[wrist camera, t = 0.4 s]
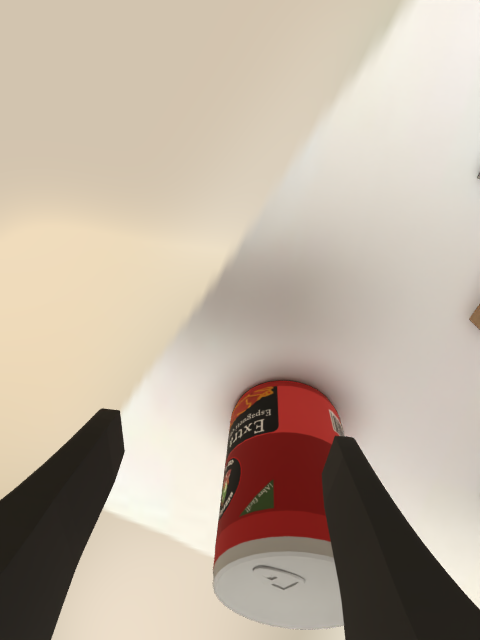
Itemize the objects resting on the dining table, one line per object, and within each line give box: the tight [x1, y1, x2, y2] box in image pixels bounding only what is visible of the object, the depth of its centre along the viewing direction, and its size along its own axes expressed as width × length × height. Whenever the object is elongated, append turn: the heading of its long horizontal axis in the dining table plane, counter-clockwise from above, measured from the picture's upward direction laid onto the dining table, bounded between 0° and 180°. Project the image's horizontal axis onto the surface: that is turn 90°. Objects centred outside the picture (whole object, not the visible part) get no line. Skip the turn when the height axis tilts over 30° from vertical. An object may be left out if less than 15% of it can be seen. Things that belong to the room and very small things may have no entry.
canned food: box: [213, 381, 344, 630], centre depth 20 cm, size 8×8×11 cm
